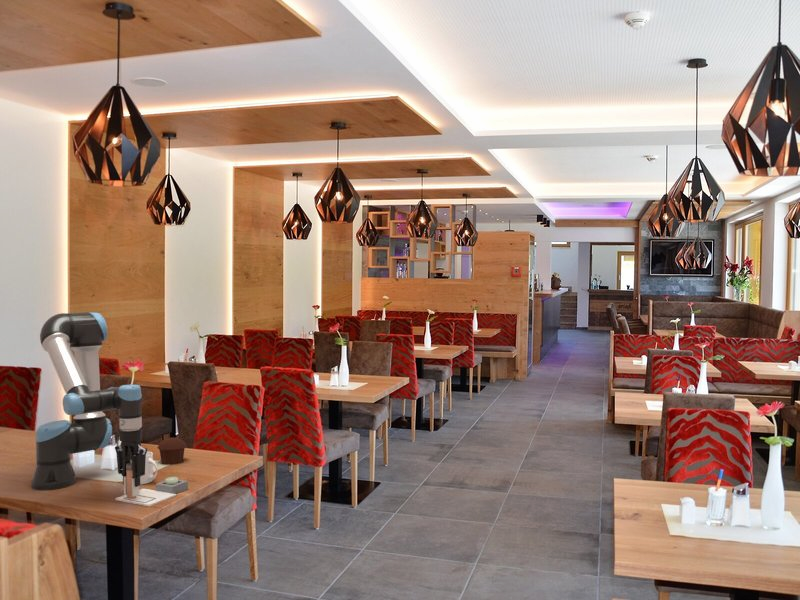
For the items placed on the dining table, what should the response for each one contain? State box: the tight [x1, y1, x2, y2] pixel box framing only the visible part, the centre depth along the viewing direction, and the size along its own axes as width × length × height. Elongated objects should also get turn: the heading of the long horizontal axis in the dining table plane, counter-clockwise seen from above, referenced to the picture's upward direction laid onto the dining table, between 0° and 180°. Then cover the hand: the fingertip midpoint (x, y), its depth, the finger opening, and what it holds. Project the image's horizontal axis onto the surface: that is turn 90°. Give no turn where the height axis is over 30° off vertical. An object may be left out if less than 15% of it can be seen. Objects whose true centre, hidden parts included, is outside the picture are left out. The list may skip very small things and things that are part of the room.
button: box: [164, 476, 179, 485], centre depth 260 cm, size 4×4×3 cm
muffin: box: [157, 437, 187, 465], centre depth 300 cm, size 12×11×10 cm
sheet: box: [115, 488, 177, 507], centre depth 252 cm, size 16×13×1 cm
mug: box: [131, 451, 158, 486], centre depth 271 cm, size 9×12×11 cm
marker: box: [126, 463, 137, 499], centre depth 250 cm, size 3×3×12 cm
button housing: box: [155, 479, 189, 495], centre depth 260 cm, size 8×8×3 cm
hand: (131, 494), depth 250 cm, fingers closed on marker, 3 cm apart
